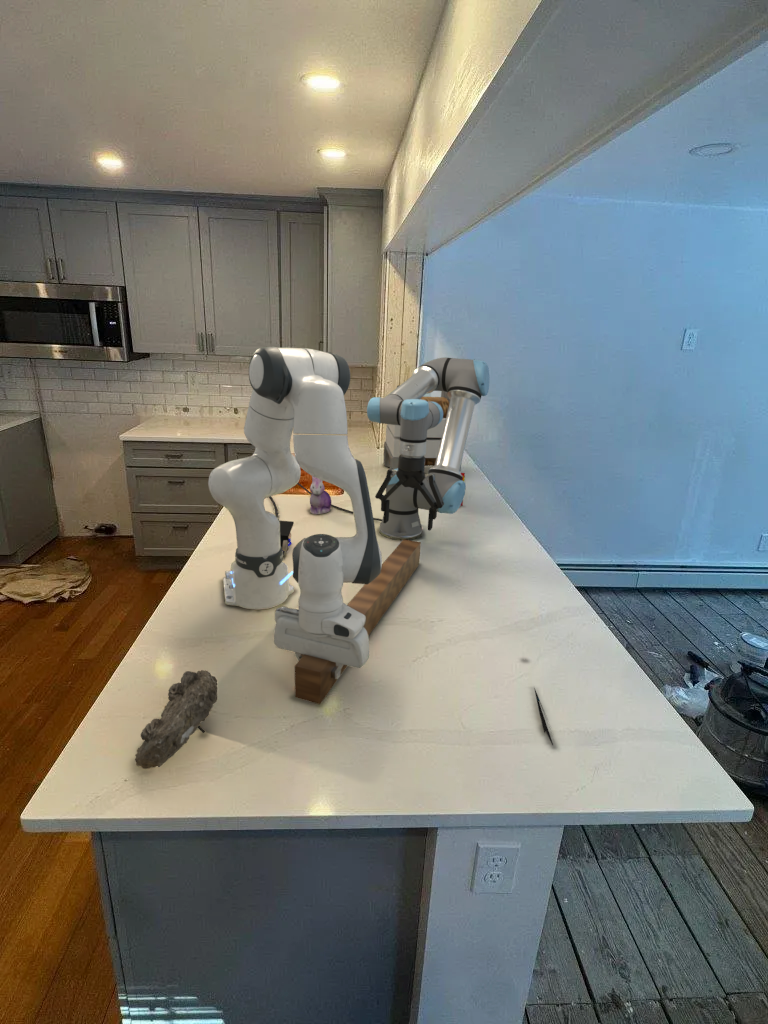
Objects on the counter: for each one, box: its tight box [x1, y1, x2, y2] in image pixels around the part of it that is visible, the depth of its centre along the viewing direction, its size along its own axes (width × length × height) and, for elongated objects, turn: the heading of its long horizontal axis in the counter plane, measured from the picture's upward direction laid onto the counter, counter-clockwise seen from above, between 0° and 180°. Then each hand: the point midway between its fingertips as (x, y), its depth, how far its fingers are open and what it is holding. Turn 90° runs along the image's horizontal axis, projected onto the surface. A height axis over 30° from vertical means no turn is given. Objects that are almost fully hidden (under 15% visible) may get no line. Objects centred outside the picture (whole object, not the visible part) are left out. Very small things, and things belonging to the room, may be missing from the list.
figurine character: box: [279, 520, 295, 556], centre depth 182 cm, size 7×8×15 cm
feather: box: [524, 658, 554, 746], centre depth 117 cm, size 2×28×2 cm
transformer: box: [383, 384, 462, 473], centre depth 268 cm, size 34×33×41 cm
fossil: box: [134, 669, 218, 770], centre depth 103 cm, size 22×10×15 cm
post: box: [294, 539, 422, 705], centre depth 144 cm, size 72×6×8 cm, turn 161°
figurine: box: [309, 476, 332, 515], centre depth 216 cm, size 9×10×15 cm
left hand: (320, 673), depth 118 cm, fingers closed on post, 5 cm apart
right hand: (407, 525), depth 167 cm, fingers open, 13 cm apart
